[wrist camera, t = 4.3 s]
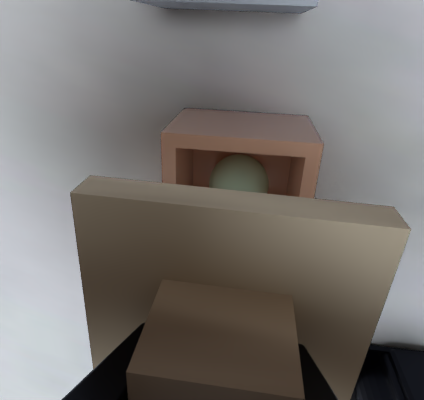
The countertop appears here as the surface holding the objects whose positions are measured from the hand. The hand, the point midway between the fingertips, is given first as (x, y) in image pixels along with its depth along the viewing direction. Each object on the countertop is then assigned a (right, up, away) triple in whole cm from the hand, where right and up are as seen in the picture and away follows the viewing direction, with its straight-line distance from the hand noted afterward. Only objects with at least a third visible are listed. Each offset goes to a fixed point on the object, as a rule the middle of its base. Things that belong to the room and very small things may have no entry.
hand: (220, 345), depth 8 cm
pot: (+1, +5, +11) cm, 12 cm away
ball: (+1, +5, +11) cm, 12 cm away
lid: (0, +1, +1) cm, 1 cm away
